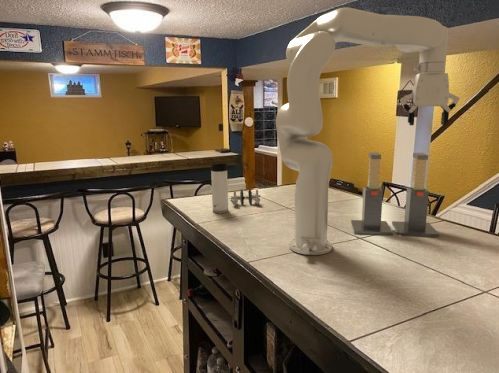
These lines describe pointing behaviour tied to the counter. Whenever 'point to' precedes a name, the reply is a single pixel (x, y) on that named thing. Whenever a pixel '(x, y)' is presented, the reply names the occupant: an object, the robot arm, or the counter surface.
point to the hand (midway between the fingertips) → (427, 125)
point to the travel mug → (219, 187)
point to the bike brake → (241, 197)
